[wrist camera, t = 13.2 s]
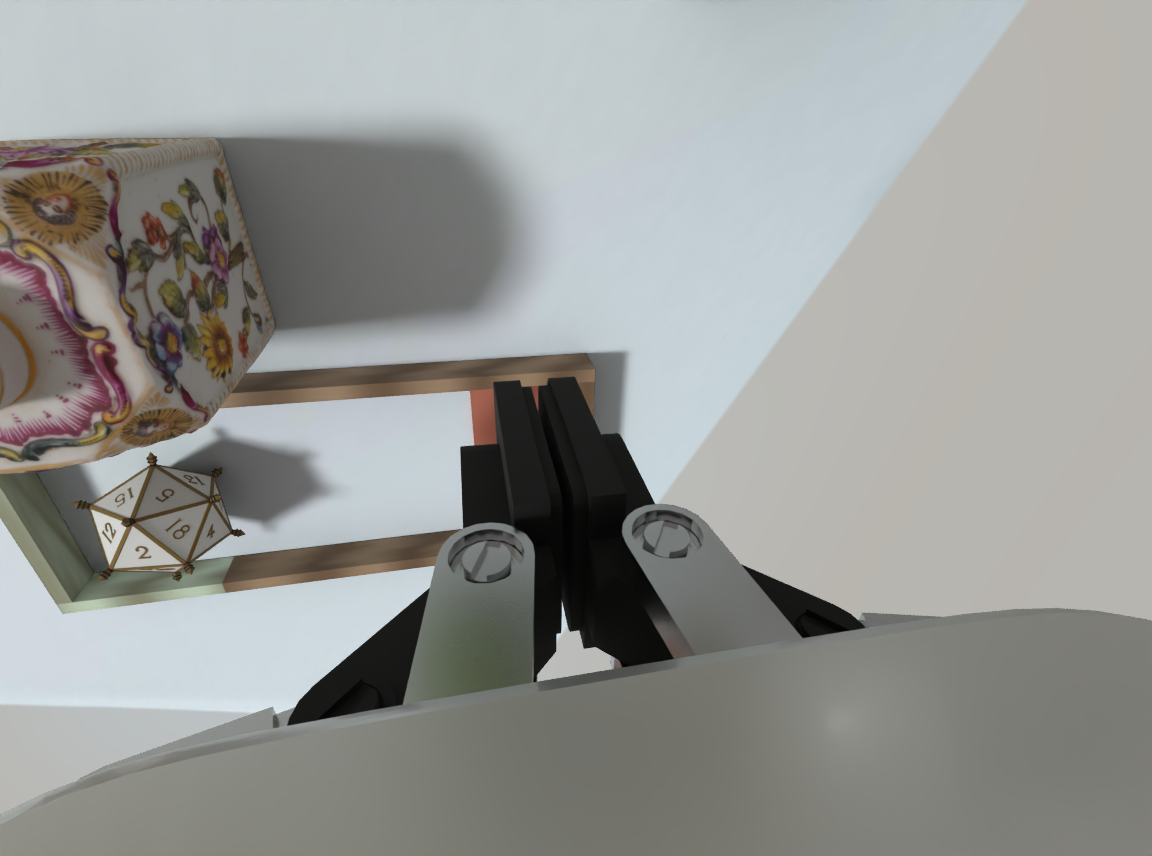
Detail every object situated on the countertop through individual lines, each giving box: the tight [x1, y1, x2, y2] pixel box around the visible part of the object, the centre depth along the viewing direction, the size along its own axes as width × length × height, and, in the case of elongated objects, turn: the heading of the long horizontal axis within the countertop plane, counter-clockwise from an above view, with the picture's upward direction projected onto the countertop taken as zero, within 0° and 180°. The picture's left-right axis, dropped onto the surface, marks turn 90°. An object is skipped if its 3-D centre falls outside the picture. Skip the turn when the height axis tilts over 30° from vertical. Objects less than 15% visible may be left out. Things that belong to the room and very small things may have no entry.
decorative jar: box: [0, 138, 275, 474], centre depth 25 cm, size 12×12×18 cm
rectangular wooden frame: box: [0, 353, 595, 614], centre depth 42 cm, size 40×17×3 cm, turn 89°
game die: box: [71, 452, 245, 582], centre depth 38 cm, size 9×8×10 cm
